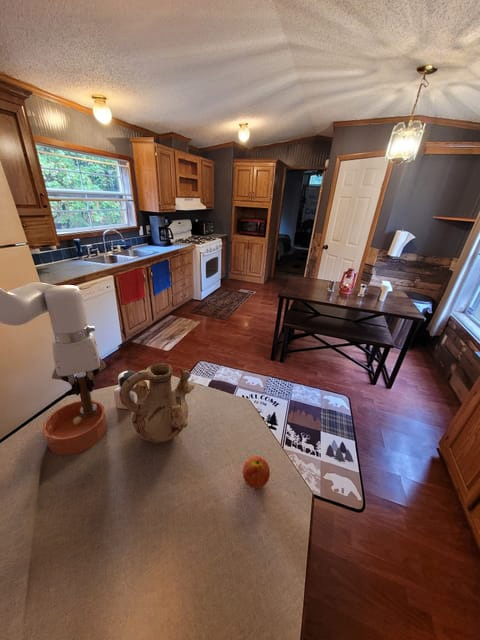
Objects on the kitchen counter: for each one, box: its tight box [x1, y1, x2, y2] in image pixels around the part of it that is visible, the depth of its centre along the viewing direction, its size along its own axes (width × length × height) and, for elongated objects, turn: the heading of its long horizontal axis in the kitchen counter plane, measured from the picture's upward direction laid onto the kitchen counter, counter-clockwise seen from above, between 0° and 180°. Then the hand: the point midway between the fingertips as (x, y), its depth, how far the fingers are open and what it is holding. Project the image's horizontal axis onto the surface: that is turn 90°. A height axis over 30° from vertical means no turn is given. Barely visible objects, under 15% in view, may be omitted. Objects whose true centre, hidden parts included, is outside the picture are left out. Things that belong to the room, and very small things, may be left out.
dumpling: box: [73, 417, 82, 425], centre depth 79 cm, size 2×2×2 cm
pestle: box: [75, 372, 98, 419], centre depth 73 cm, size 4×4×14 cm
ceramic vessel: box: [119, 362, 195, 444], centre depth 74 cm, size 18×19×25 cm
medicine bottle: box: [113, 370, 137, 410], centre depth 88 cm, size 7×7×12 cm
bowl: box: [42, 399, 108, 456], centre depth 75 cm, size 15×15×6 cm
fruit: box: [242, 455, 271, 489], centre depth 65 cm, size 7×7×8 cm
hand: (84, 390), depth 73 cm, fingers closed on pestle, 2 cm apart
